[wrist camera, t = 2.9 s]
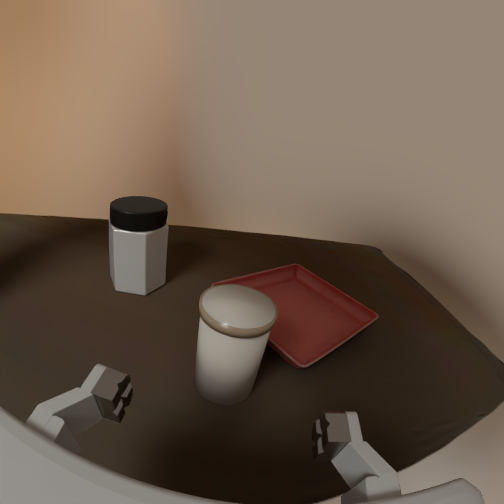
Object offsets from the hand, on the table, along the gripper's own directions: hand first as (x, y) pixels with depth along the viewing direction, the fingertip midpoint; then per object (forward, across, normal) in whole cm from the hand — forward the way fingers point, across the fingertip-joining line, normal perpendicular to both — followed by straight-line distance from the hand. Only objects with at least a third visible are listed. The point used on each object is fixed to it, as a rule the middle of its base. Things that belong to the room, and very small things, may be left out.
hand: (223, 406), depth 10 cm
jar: (+27, +16, +13) cm, 34 cm away
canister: (+12, 0, +13) cm, 18 cm away
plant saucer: (+26, -8, +14) cm, 31 cm away
